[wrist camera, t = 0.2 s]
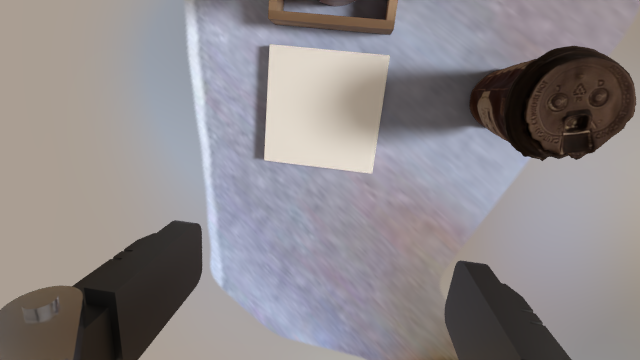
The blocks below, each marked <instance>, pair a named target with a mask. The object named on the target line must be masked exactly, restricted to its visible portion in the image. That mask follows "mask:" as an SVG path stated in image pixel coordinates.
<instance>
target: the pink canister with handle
mask: <svg viewBox="0 0 640 360" xmlns="http://www.w3.org/2000/svg"><path fill="white" fill-rule="evenodd" d="M319 1H320V2H322V3H324V4H327V5H331V6H343V5H347V4H350V3H352V2H354V1H356V0H319Z"/></svg>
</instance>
